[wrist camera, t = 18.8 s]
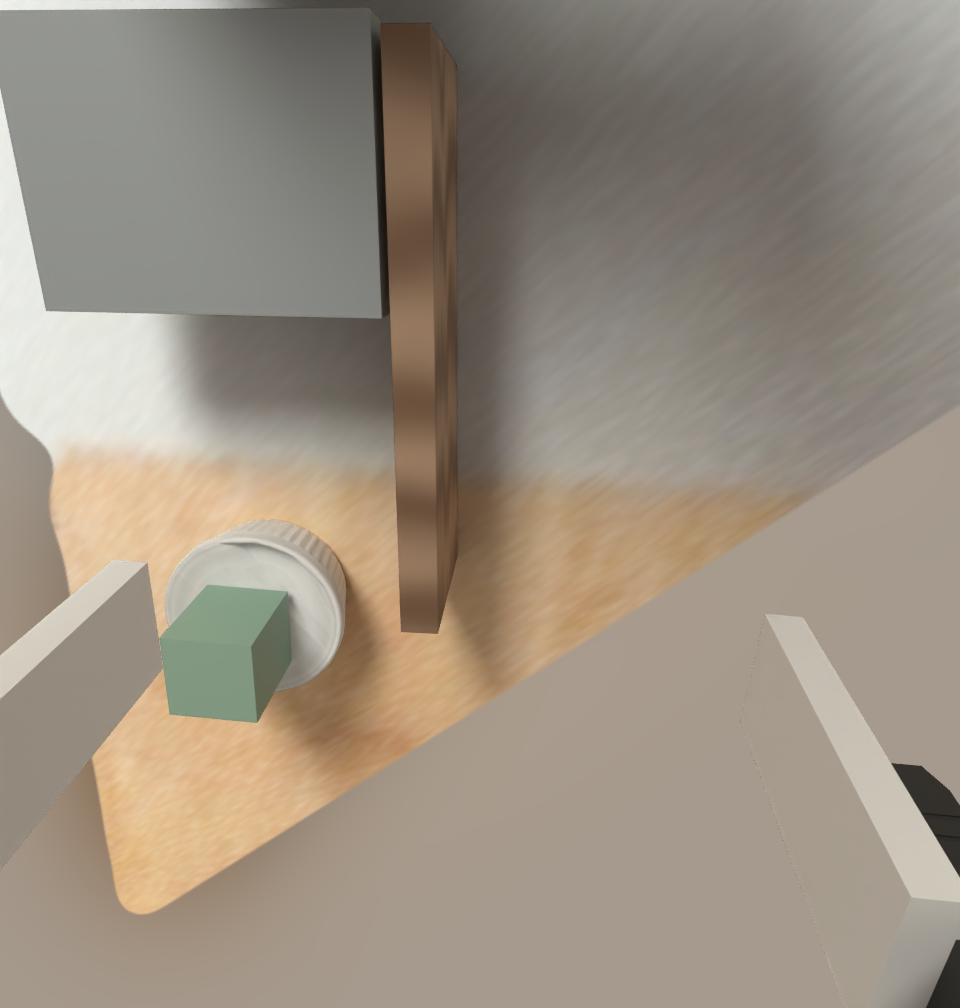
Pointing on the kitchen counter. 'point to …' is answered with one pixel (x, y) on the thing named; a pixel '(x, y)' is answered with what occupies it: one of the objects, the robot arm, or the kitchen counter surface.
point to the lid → (201, 159)
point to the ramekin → (273, 586)
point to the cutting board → (422, 310)
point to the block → (227, 653)
